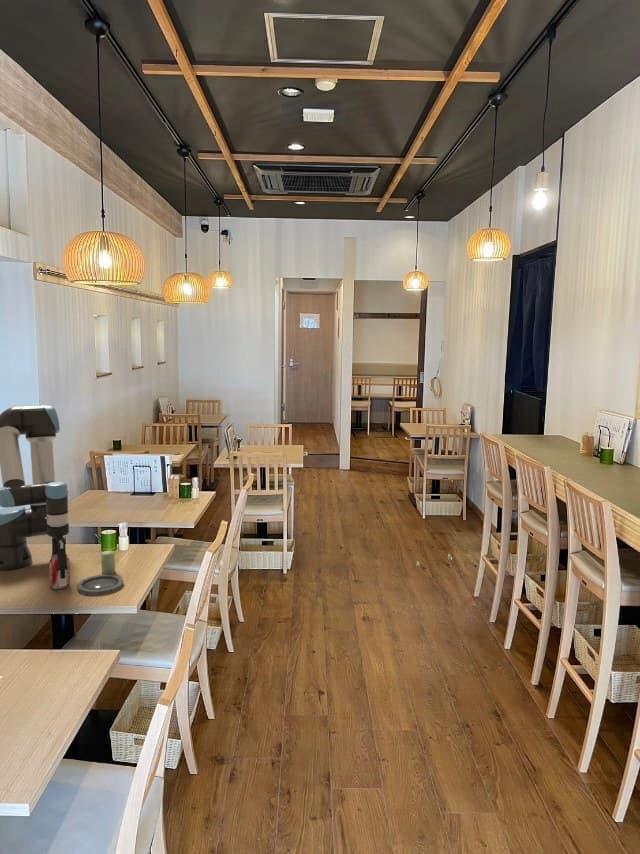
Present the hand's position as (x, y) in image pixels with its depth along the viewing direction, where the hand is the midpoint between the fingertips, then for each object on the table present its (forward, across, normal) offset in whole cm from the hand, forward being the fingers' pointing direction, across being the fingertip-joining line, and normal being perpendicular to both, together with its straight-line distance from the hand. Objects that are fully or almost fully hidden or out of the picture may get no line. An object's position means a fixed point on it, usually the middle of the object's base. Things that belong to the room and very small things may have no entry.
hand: (60, 581), depth 229 cm
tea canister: (+2, -6, +19) cm, 20 cm away
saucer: (+2, +7, +13) cm, 15 cm away
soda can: (+2, 0, 0) cm, 2 cm away
